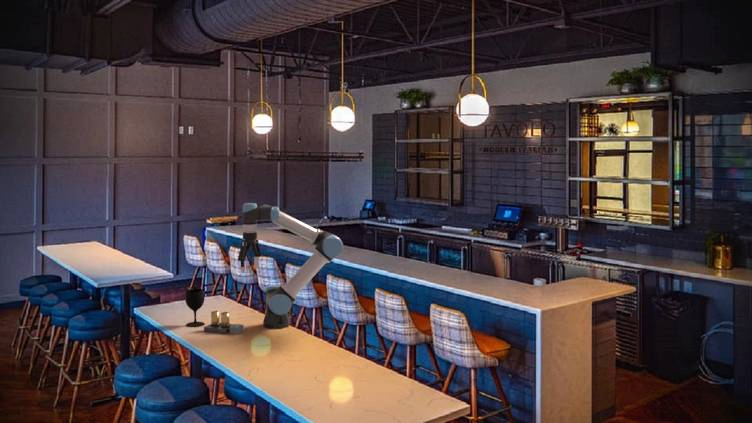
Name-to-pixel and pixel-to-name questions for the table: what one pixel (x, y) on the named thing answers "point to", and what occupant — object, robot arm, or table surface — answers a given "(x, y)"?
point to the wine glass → (194, 304)
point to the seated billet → (225, 320)
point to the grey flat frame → (217, 329)
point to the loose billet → (215, 318)
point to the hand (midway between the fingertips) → (250, 270)
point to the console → (236, 329)
